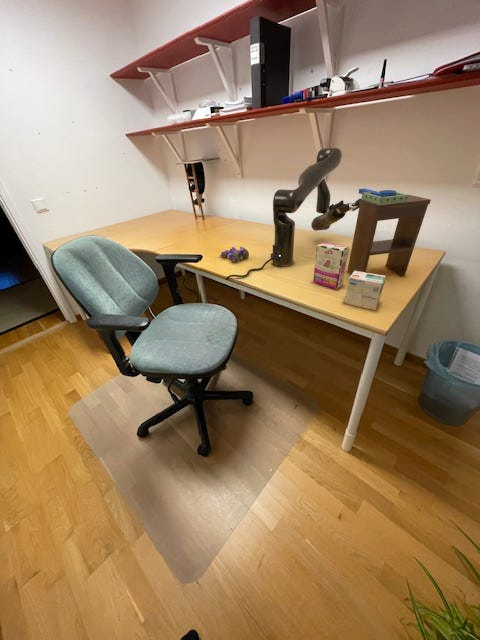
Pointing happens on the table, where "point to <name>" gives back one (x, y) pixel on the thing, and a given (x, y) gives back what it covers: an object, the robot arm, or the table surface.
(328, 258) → the candy bar box
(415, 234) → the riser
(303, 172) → the robot arm
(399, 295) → the table surface
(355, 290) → the light bulb box
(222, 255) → the purple lumpy cluster
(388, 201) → the green shallow tray
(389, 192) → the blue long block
